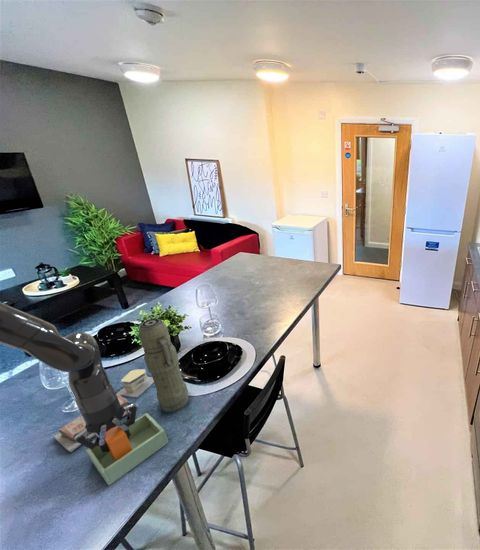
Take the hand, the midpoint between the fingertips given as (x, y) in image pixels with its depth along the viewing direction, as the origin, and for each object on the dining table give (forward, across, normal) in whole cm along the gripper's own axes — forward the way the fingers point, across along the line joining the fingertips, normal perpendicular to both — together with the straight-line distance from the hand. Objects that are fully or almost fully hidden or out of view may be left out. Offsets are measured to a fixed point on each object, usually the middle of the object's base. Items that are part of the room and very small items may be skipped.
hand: (117, 444), depth 84 cm
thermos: (+6, -19, -9) cm, 22 cm away
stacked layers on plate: (+6, -15, -29) cm, 33 cm away
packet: (+4, 0, 0) cm, 4 cm away
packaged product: (+7, 0, -21) cm, 22 cm away
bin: (+6, -2, 0) cm, 7 cm away
